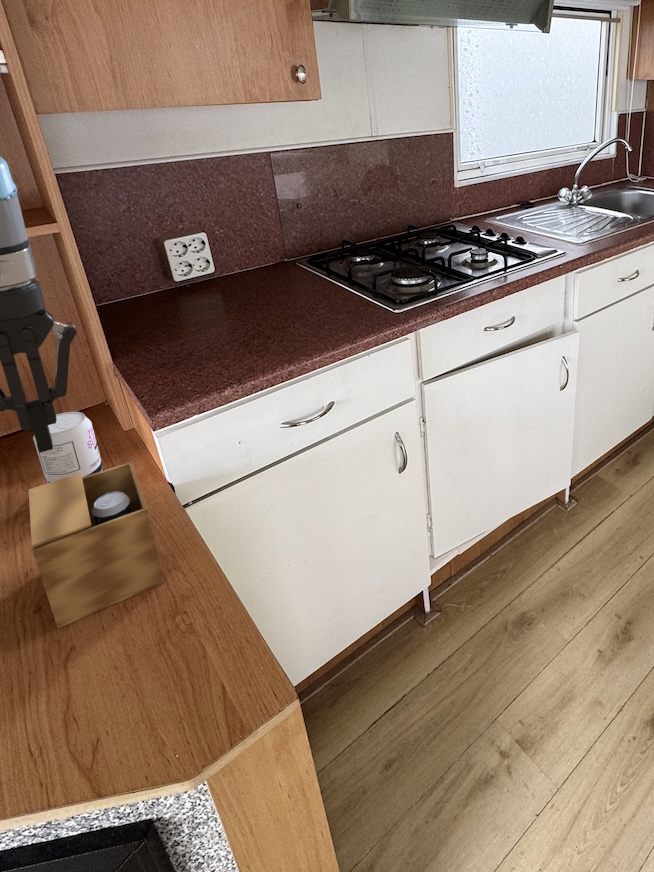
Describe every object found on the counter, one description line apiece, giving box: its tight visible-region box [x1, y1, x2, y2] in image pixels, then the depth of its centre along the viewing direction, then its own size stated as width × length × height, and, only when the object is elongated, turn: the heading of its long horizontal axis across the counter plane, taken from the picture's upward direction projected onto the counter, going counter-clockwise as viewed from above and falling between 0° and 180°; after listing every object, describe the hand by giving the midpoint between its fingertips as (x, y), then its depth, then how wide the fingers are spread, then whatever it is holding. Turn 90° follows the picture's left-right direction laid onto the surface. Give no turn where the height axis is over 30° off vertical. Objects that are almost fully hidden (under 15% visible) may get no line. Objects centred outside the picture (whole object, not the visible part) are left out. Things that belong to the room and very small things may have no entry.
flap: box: [28, 473, 91, 549], centre depth 81 cm, size 6×14×1 cm, turn 39°
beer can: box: [92, 492, 132, 526], centre depth 87 cm, size 5×5×12 cm
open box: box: [31, 461, 165, 629], centre depth 86 cm, size 13×14×14 cm
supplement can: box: [32, 411, 105, 484], centre depth 102 cm, size 8×8×15 cm
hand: (45, 446), depth 79 cm, fingers closed
